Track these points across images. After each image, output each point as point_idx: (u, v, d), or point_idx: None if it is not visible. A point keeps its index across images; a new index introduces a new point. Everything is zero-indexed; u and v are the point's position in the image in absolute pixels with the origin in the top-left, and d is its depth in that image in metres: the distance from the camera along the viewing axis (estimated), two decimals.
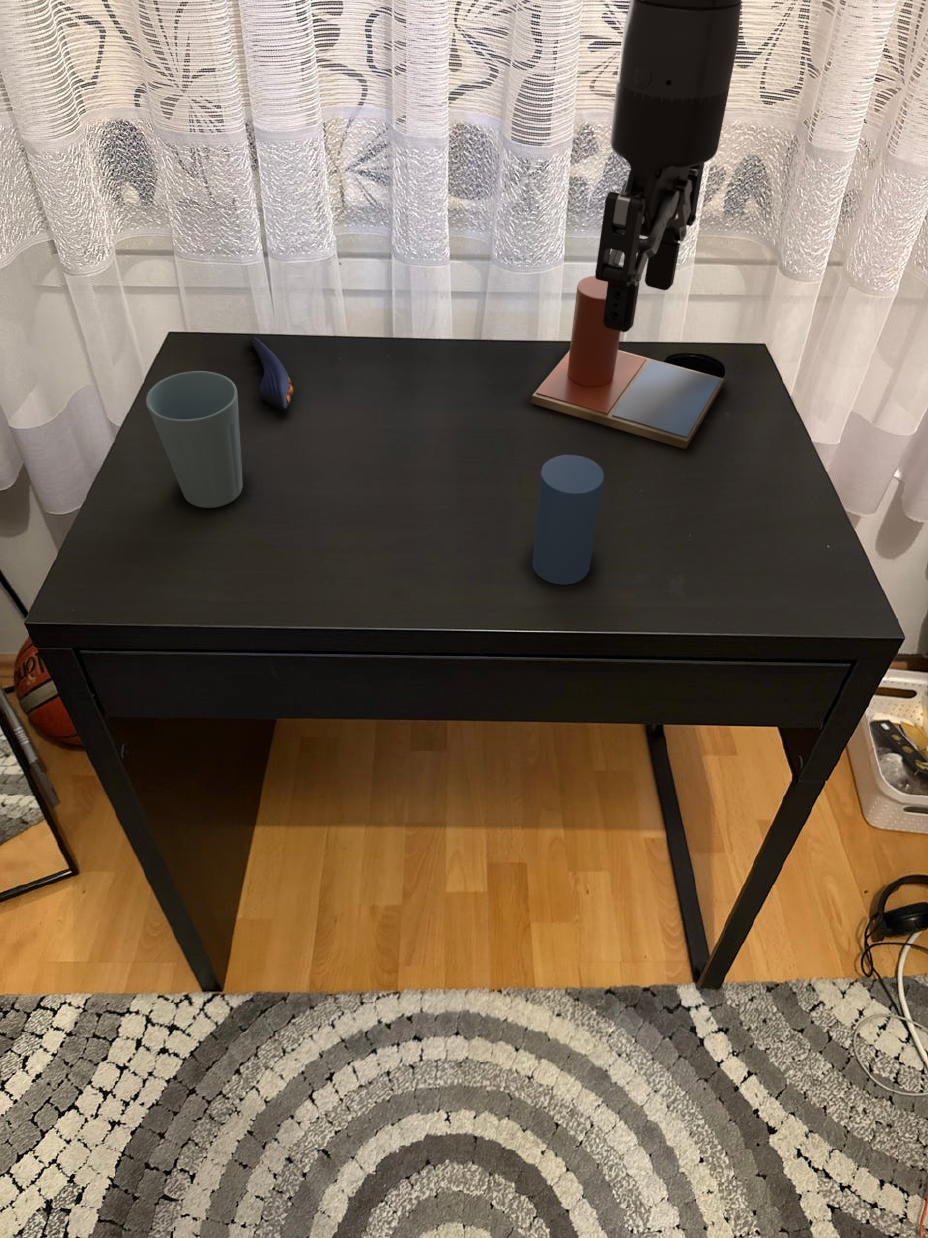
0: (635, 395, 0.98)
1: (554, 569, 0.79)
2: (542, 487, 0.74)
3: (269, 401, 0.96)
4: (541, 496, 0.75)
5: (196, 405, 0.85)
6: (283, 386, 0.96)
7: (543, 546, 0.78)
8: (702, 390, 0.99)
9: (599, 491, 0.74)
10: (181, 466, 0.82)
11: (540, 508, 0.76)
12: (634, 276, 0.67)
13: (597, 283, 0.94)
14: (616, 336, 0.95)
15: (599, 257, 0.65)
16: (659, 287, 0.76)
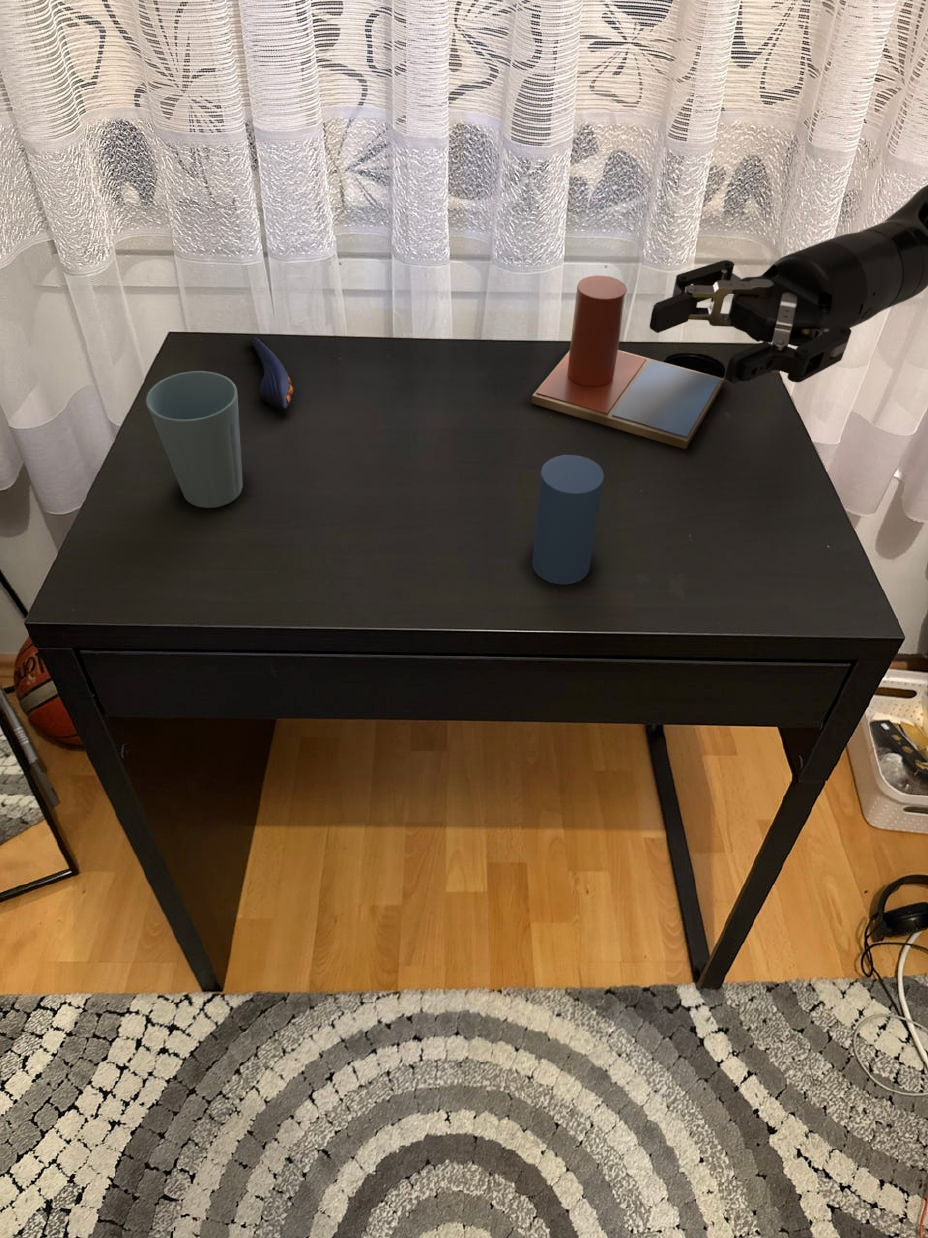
0: (635, 395, 0.98)
1: (554, 569, 0.79)
2: (542, 487, 0.74)
3: (269, 401, 0.96)
4: (541, 496, 0.75)
5: (196, 405, 0.85)
6: (283, 386, 0.96)
7: (543, 546, 0.78)
8: (702, 390, 0.99)
9: (599, 491, 0.74)
10: (181, 466, 0.82)
11: (540, 508, 0.76)
12: (690, 286, 0.76)
13: (597, 283, 0.94)
14: (616, 336, 0.95)
15: None
16: (729, 365, 0.70)
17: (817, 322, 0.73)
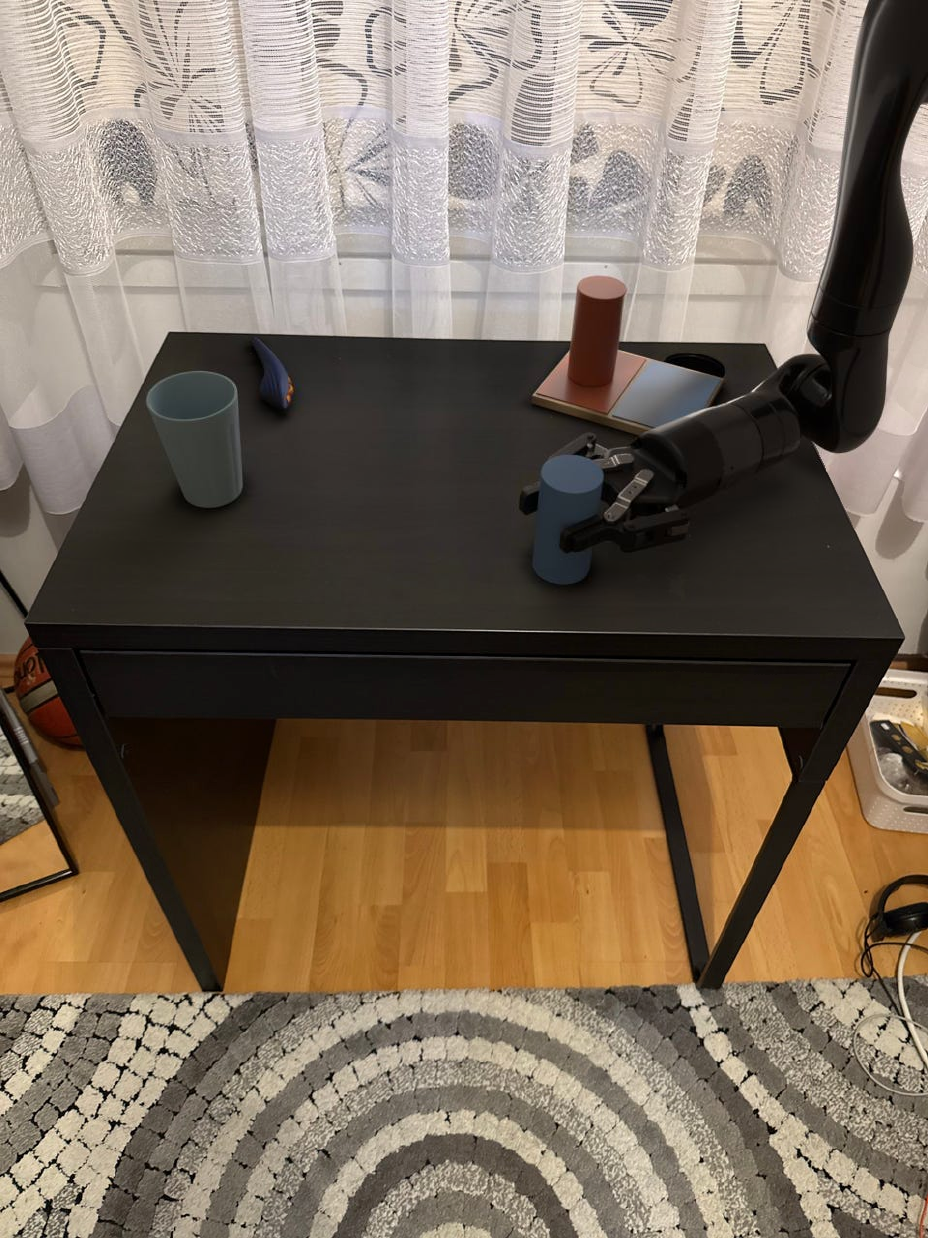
0: (635, 395, 0.98)
1: (554, 569, 0.79)
2: (542, 487, 0.74)
3: (269, 401, 0.96)
4: (540, 495, 0.75)
5: (196, 405, 0.85)
6: (283, 386, 0.96)
7: (543, 546, 0.78)
8: (702, 390, 0.99)
9: (599, 491, 0.74)
10: (181, 466, 0.82)
11: (540, 508, 0.76)
12: None
13: (597, 283, 0.94)
14: (616, 336, 0.95)
15: None
16: (561, 537, 0.75)
17: (668, 500, 0.77)
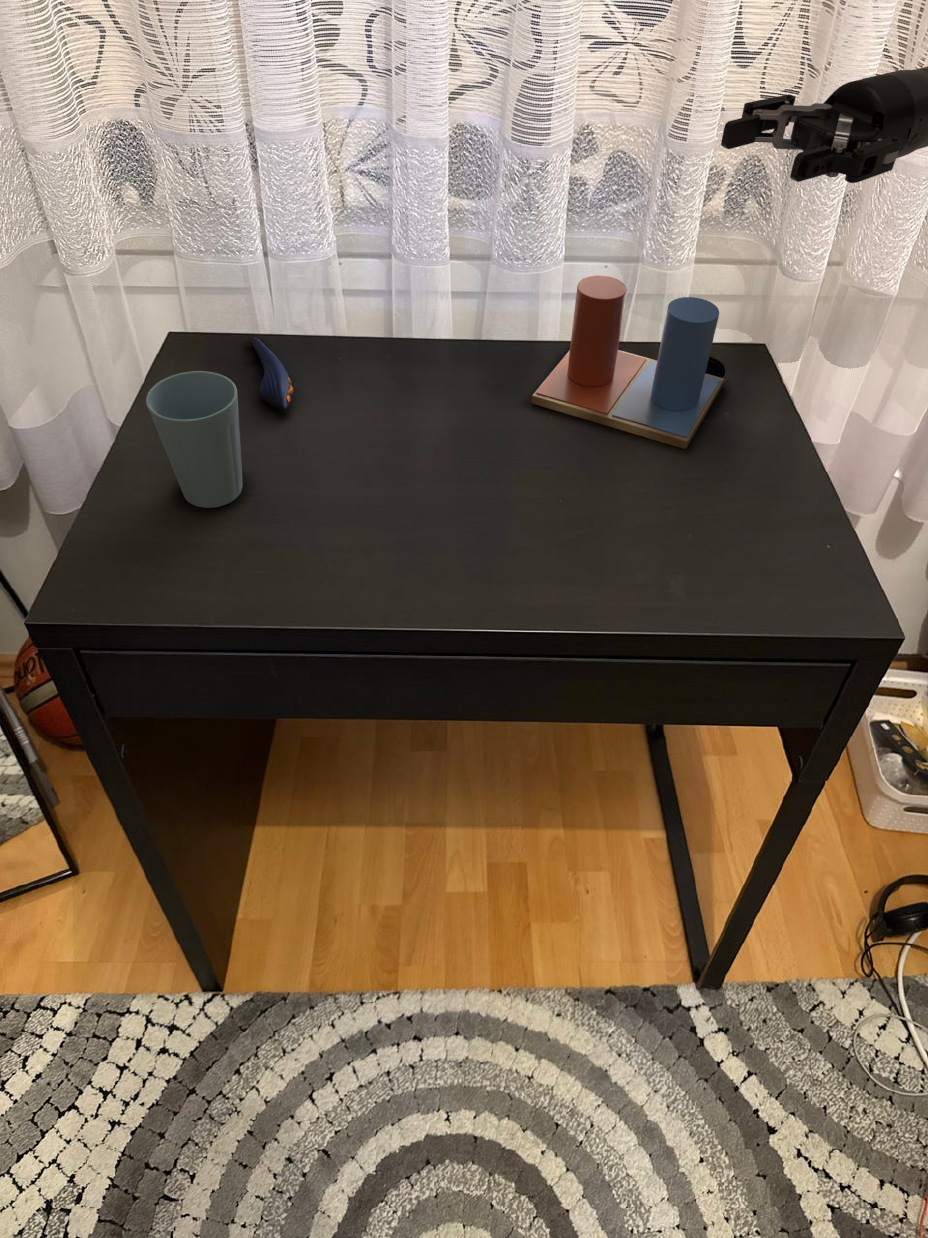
0: (635, 395, 0.98)
1: (672, 396, 0.95)
2: (668, 321, 0.91)
3: (269, 401, 0.96)
4: (666, 329, 0.91)
5: (196, 405, 0.85)
6: (283, 386, 0.96)
7: (664, 376, 0.94)
8: (702, 390, 0.99)
9: (715, 323, 0.90)
10: (181, 466, 0.82)
11: (664, 341, 0.92)
12: None
13: (597, 283, 0.94)
14: (616, 336, 0.95)
15: None
16: (794, 163, 0.79)
17: (871, 136, 0.83)
